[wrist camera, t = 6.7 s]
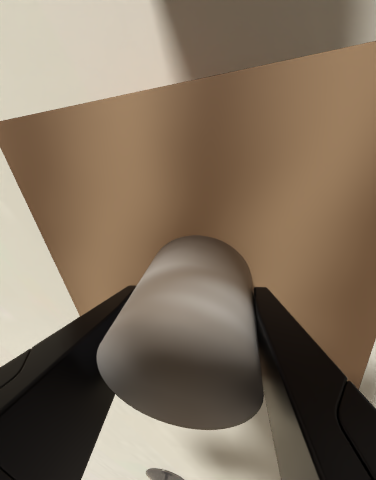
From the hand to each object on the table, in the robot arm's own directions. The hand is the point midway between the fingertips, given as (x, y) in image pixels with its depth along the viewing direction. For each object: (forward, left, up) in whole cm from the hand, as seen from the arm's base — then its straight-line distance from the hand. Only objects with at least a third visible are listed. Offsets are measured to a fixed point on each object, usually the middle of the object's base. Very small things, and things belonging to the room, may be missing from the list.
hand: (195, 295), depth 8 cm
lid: (0, 0, -2) cm, 2 cm away
